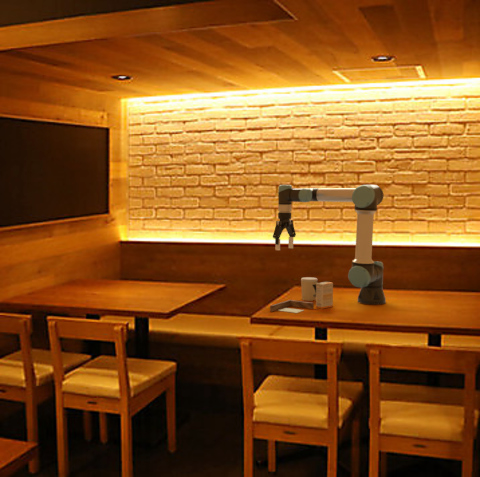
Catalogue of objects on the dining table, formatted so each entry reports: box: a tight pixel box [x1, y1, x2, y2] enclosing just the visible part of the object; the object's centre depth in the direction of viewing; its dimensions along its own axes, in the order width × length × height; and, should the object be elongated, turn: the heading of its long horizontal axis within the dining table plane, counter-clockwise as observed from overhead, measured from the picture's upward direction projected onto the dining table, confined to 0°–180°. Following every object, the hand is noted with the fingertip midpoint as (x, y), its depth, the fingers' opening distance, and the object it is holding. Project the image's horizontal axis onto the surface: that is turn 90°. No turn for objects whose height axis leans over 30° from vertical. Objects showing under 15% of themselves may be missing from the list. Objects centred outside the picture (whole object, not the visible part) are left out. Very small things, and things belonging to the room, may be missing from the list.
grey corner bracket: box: [269, 299, 315, 313], centre depth 353 cm, size 14×20×3 cm
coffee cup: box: [300, 276, 319, 302], centre depth 383 cm, size 9×9×12 cm
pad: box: [277, 307, 305, 314], centre depth 352 cm, size 11×8×1 cm
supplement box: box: [315, 281, 334, 309], centre depth 362 cm, size 8×5×13 cm, turn 128°
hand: (284, 249), depth 389 cm, fingers open, 13 cm apart
